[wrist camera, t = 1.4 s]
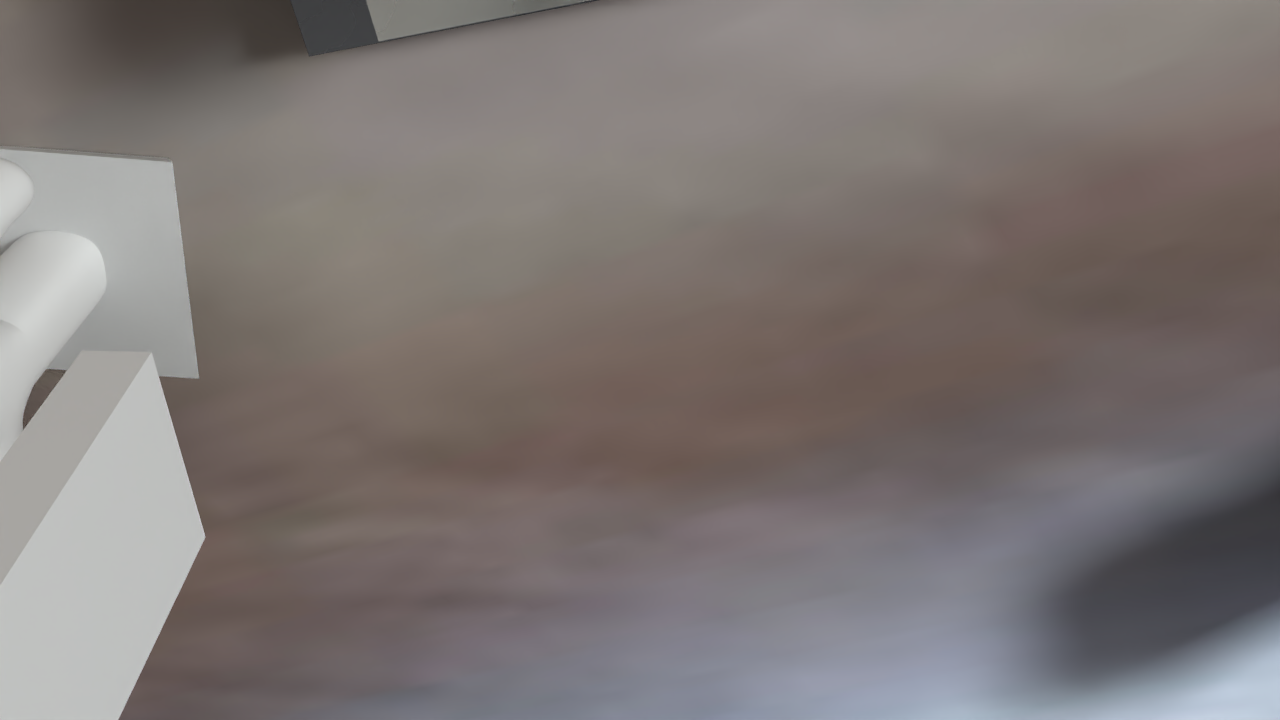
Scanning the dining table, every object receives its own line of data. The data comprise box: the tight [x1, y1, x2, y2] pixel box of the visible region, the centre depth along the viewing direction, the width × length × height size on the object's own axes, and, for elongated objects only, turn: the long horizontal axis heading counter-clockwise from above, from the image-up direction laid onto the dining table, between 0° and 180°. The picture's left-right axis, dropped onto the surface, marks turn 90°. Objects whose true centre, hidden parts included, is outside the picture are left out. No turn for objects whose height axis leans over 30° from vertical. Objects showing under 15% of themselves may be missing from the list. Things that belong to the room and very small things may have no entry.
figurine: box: [0, 146, 199, 461], centre depth 31 cm, size 7×9×15 cm
